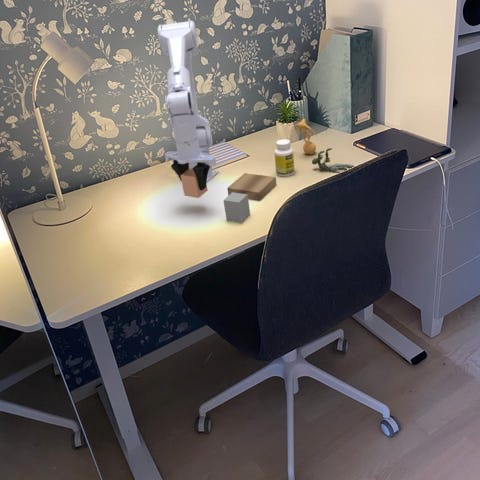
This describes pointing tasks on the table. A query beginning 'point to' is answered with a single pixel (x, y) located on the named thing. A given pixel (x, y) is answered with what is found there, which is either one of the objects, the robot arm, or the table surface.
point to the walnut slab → (253, 186)
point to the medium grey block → (237, 207)
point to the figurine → (308, 146)
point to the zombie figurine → (325, 167)
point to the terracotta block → (191, 184)
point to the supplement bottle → (284, 158)
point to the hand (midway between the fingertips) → (195, 187)
